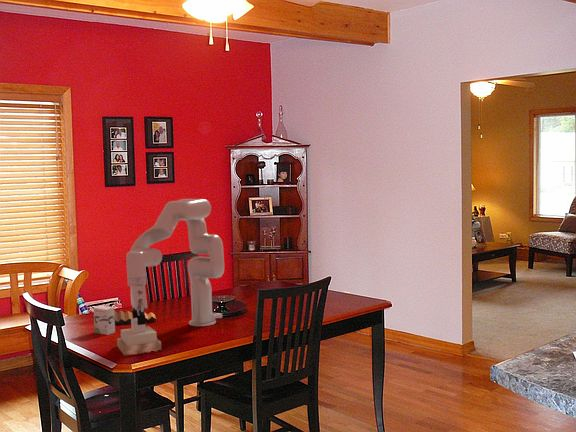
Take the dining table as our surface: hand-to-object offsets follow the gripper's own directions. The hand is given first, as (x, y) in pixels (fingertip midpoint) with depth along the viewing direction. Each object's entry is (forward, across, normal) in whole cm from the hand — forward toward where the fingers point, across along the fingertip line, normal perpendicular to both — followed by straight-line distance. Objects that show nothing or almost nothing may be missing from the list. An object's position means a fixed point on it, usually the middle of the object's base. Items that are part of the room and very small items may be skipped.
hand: (139, 321), depth 285 cm
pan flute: (+12, +57, -6) cm, 58 cm away
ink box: (+11, +34, +9) cm, 37 cm away
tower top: (+8, 0, +1) cm, 8 cm away
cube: (+4, 0, 0) cm, 4 cm away
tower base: (+12, 0, +1) cm, 12 cm away
